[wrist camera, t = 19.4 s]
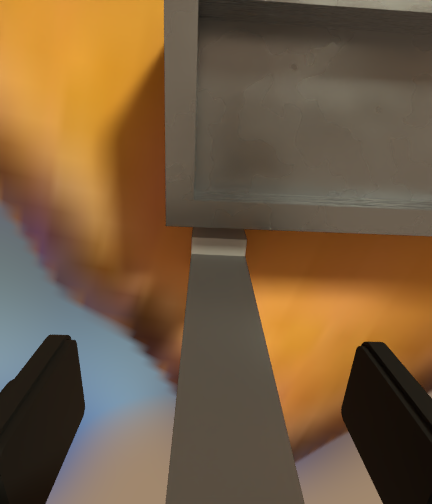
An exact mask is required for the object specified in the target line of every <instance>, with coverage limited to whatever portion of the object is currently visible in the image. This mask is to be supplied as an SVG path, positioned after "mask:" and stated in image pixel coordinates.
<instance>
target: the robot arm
mask: <svg viewBox="0 0 432 504" xmlns="http://www.w3.org/2000/svg"><path fill="white" fill-rule="evenodd" d="M84 410H85V402H84V394H83V387H82V379H81V371H80V364H79V357H78V349H77V343H76V341H75V340H71V337H70V336H69V335H49V336H48V337H47V338H46V339H45V340H44V341H43V343H42V344H41V345H40V347H39V348H38V349H37V351H36V352H35V353H34V354H33V356H32V357H31V358H30V359H29V361H28V362H27V363H26V365H25V366H24V367H23V368H22V370H21V371H20V372H19V374H18V375H17V376H16V377H15V379H13V380H12V381H10V382H9V383H8V384H7V385H6V386H5V387H4V388H3V390H2V391H1V392H0V504H45V503H46V501H47V498H48V496H49V494H50V492H51V490H52V487H53V485H54V483H55V480H56V478H57V476H58V473H59V471H60V469H61V466H62V464H63V462H64V459H65V457H66V455H67V452H68V450H69V448H70V445H71V443H72V441H73V438H74V436H75V434H76V432H77V429H78V427H79V425H80V422H81V420H82V418H83V415H84ZM341 412H342V418H343V421H344V423H345V425H346V427H347V429H348V431H349V433H350V435H351V437H352V439H353V441H354V444H355V446H356V448H357V450H358V452H359V454H360V456H361V458H362V460H363V462H364V465H365V467H366V469H367V471H368V473H369V475H370V477H371V479H372V481H373V483H374V485H375V488H376V490H377V492H378V494H379V496H380V498H381V500H382V502H383V504H432V398H431V397H430V396H429V395H428V394H427V393H426V391H425V390H424V389H423V388H422V387H421V385H420V384H419V383H418V382H417V381H416V380H415V378H414V377H413V376H412V375H411V374H410V373H409V371H408V370H407V369H406V368H405V367H404V365H403V364H402V363H401V362H400V361H399V360H398V358H397V357H396V356H395V355H394V354H393V352H392V351H391V350H390V349H389V348H388V347H387V345H386V344H384V343H383V342H363V344H362V345H361V346H359V347H358V348H357V349H356V353H355V357H354V361H353V365H352V369H351V373H350V377H349V381H348V384H347V388H346V392H345V396H344V400H343V404H342V409H341Z"/></svg>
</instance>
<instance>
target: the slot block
mask: <svg viewBox="0 0 432 504" xmlns="http://www.w3.org/2000/svg"><path fill="white" fill-rule="evenodd" d="M164 60H165V177H166V226H179V227H205V228H231V229H257V230H283V231H309V232H335V233H361V234H387V235H412V236H432V0H164Z"/></svg>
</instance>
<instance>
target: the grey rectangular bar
mask: <svg viewBox="0 0 432 504" xmlns="http://www.w3.org/2000/svg"><path fill="white" fill-rule="evenodd" d="M246 244H247V238H246V235H245V231H244V229H231V228H205V227H193V232H192V249H191V262H190V272H189V281H188V291H187V301H186V310H185V320H184V330H183V340H182V349H181V359H180V369H179V378H178V388H177V398H176V408H175V418H174V427H173V437H172V447H171V456H170V466H169V475H168V485H167V495H166V504H304V500H303V495H302V491H301V487H300V483H299V479H298V475H297V470H296V466H295V462H294V458H293V454H292V450H291V445H290V441H289V437H288V433H287V429H286V425H285V420H284V416H283V412H282V408H281V404H280V400H279V395H278V391H277V387H276V383H275V379H274V375H273V370H272V366H271V362H270V358H269V354H268V350H267V345H266V341H265V337H264V333H263V329H262V325H261V320H260V316H259V312H258V308H257V304H256V300H255V295H254V291H253V287H252V283H251V279H250V275H249V270H248V266H247V262H246V258H245V253H246Z"/></svg>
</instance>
